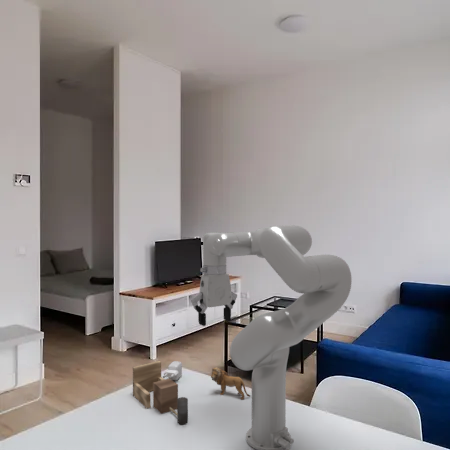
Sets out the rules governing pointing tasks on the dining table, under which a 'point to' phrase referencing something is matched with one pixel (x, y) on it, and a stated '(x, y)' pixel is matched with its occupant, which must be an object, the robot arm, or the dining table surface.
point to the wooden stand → (145, 381)
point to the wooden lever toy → (170, 400)
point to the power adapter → (174, 371)
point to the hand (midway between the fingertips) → (215, 322)
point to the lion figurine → (228, 381)
